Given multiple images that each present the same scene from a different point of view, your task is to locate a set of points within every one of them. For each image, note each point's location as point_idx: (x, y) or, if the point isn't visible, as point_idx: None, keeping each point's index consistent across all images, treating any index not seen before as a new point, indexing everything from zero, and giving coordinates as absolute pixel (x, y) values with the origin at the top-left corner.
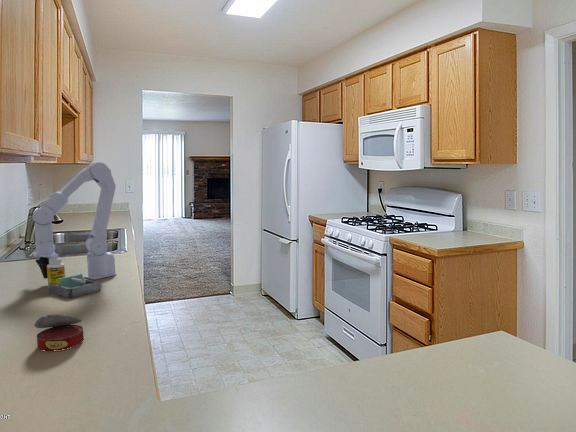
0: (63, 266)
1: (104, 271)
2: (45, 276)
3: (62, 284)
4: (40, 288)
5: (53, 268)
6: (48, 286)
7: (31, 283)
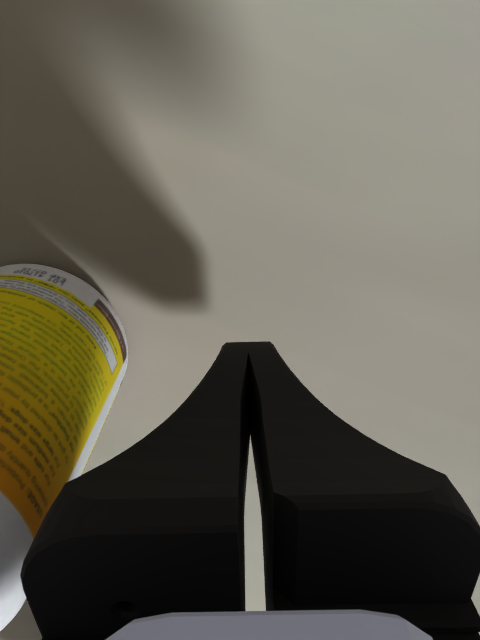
0: None
1: None
2: (217, 357)
3: None
4: (123, 203)
5: None
6: (40, 266)
7: (474, 249)
